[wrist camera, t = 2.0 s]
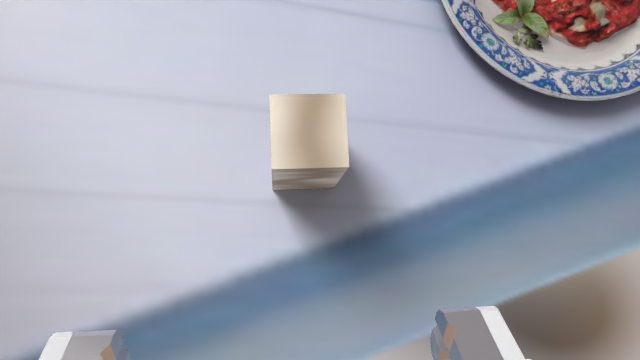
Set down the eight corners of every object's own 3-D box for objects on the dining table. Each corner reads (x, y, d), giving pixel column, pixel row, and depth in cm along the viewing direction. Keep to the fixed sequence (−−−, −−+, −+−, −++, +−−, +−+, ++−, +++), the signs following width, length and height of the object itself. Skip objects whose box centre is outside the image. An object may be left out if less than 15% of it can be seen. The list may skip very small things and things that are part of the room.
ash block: (272, 189, 36) (271, 169, 28) (271, 130, 37) (269, 94, 29) (333, 188, 37) (349, 167, 29) (330, 129, 38) (345, 94, 30)
